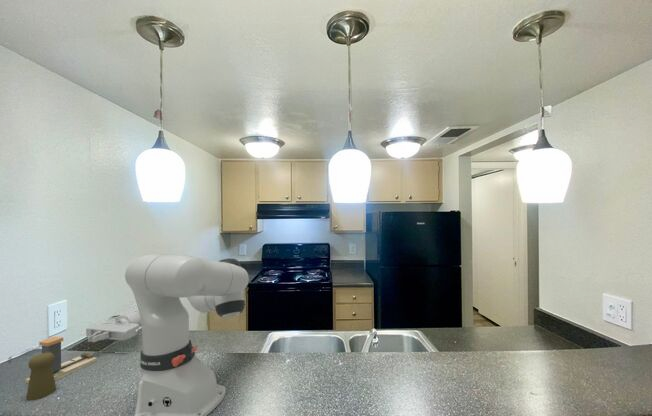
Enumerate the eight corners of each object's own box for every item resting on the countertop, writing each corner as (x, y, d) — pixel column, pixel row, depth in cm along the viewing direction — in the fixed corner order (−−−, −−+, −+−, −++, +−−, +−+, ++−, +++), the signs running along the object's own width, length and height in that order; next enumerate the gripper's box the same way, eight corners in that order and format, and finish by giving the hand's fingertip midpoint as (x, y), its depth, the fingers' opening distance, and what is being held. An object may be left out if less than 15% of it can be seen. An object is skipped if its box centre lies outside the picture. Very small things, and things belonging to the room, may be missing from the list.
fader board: (97, 361, 97) (97, 354, 97) (43, 386, 82) (43, 379, 82) (80, 358, 99) (80, 352, 99) (25, 383, 84) (25, 375, 84)
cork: (36, 401, 75) (36, 360, 76) (20, 399, 76) (20, 359, 77) (61, 388, 81) (61, 350, 81) (46, 386, 82) (46, 349, 83)
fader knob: (63, 368, 89) (63, 337, 89) (47, 375, 85) (48, 343, 85) (54, 367, 90) (54, 336, 90) (39, 374, 86) (39, 342, 86)
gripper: (147, 334, 109) (112, 351, 96) (109, 330, 115) (70, 346, 101) (147, 318, 109) (111, 333, 96) (109, 315, 115) (70, 329, 102)
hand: (90, 339), depth 99 cm, fingers closed
